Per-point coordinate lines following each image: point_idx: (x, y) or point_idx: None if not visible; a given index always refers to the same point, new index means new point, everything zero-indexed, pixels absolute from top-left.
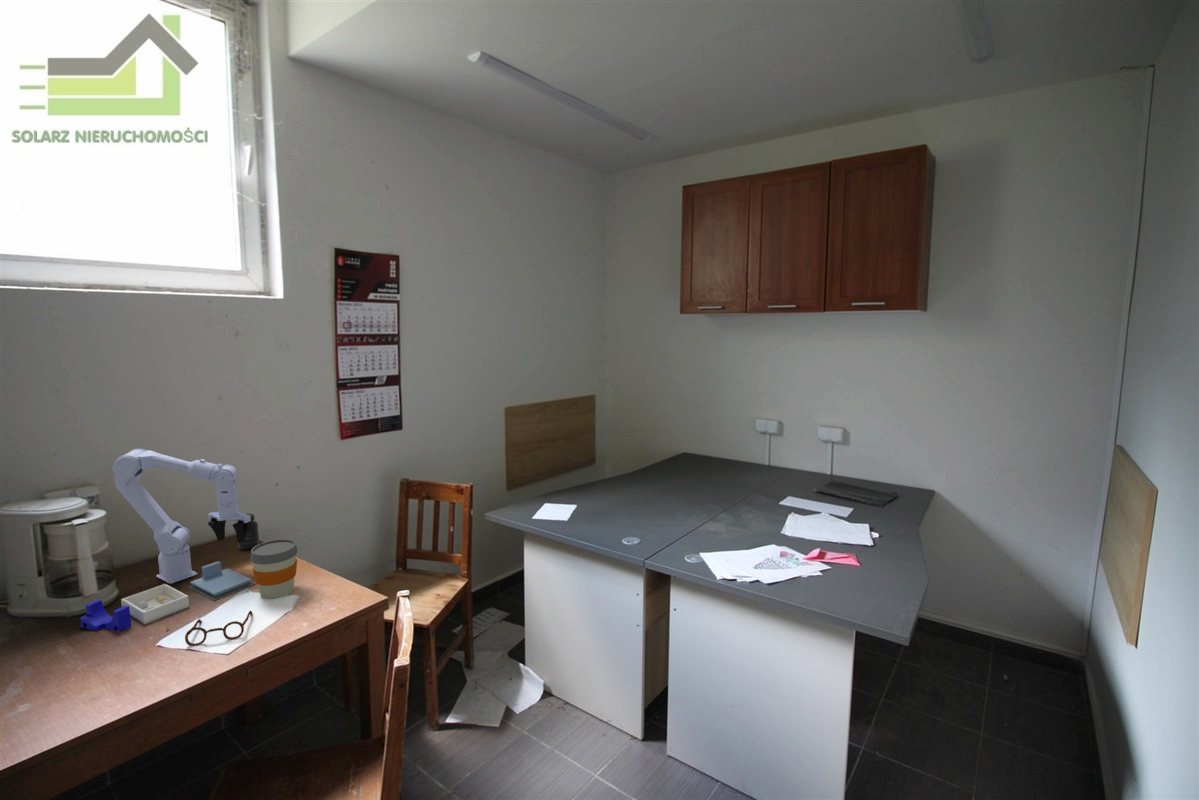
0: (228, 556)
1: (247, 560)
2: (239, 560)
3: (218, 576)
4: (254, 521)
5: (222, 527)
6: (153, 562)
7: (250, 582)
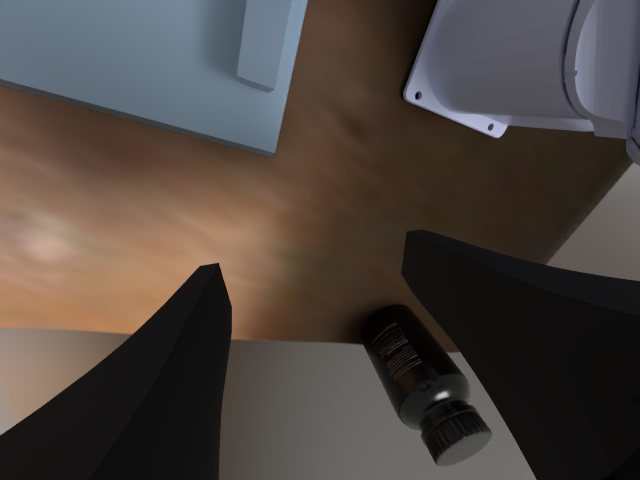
0: (399, 262)
1: (309, 266)
2: (338, 256)
3: (222, 38)
4: (418, 429)
5: (480, 346)
6: (611, 141)
7: (14, 83)
